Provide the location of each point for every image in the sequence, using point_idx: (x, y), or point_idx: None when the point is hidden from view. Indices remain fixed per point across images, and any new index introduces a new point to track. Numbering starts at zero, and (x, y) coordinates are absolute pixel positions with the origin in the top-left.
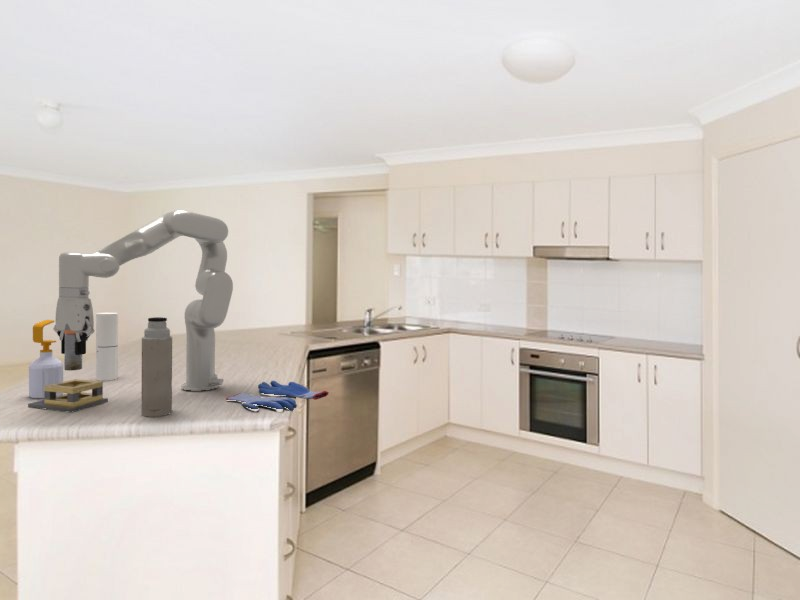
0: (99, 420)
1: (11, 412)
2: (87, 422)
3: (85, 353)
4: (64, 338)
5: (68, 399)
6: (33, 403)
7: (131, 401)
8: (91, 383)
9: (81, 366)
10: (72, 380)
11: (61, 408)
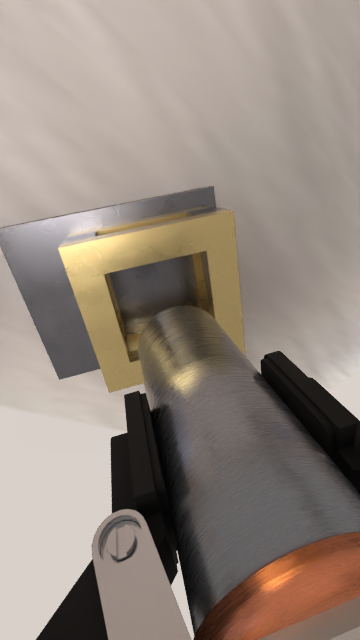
0: (346, 326)
1: (90, 415)
2: (333, 348)
3: (277, 351)
4: (170, 578)
5: None
6: (69, 369)
7: (282, 132)
8: (223, 264)
9: (220, 326)
10: (83, 276)
11: None
